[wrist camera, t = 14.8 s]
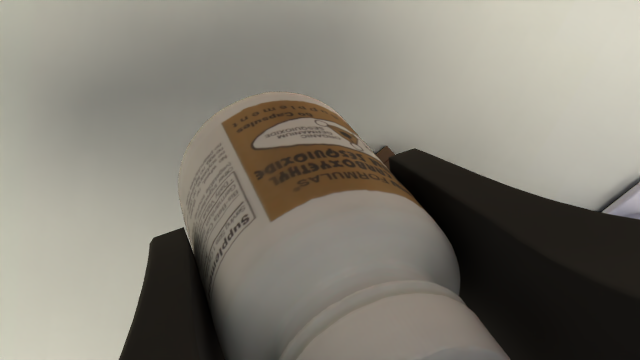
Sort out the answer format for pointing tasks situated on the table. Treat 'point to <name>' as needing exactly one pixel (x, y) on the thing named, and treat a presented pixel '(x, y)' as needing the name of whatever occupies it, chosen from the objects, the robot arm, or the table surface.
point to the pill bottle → (317, 243)
